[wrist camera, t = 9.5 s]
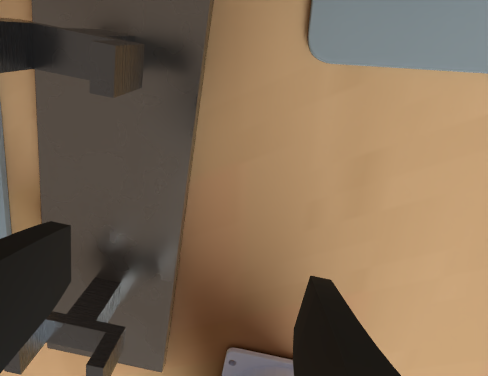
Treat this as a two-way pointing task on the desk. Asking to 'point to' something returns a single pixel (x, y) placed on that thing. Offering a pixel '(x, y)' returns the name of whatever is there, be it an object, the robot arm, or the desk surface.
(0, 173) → the mat
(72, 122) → the hook rack
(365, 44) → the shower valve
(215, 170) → the desk surface
